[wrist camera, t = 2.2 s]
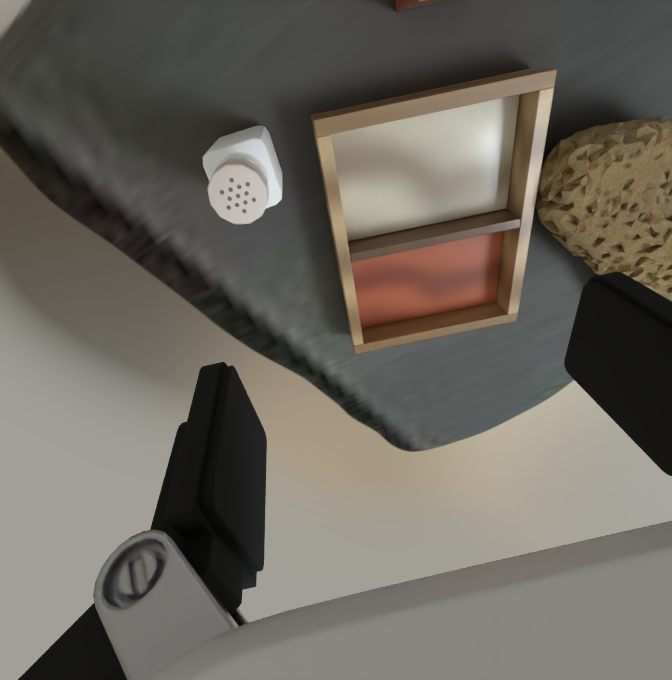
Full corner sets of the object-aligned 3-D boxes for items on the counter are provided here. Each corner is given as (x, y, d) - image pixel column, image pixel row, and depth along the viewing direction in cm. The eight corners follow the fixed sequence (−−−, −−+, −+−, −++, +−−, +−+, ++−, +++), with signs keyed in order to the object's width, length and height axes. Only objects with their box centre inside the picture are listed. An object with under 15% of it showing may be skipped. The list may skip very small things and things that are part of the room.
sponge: (692, 230, 37) (719, 24, 23) (752, 285, 32) (829, 68, 19) (553, 291, 42) (509, 152, 29) (587, 345, 38) (553, 211, 24)
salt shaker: (213, 138, 26) (185, 168, 19) (266, 121, 26) (259, 145, 19) (236, 194, 29) (219, 240, 21) (284, 179, 29) (285, 220, 21)
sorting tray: (310, 115, 26) (313, 120, 24) (531, 68, 26) (557, 68, 24) (350, 335, 38) (355, 354, 36) (501, 304, 38) (516, 321, 36)
